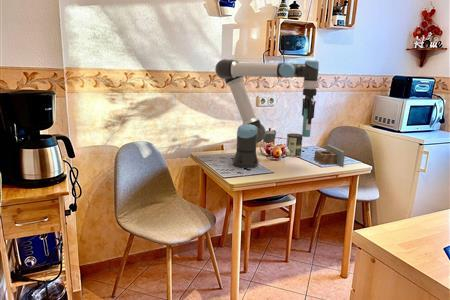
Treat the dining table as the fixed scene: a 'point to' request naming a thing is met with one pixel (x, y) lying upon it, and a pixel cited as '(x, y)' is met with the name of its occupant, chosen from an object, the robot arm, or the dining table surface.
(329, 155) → the socket block
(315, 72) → the robot arm
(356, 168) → the dining table surface
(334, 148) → the wall
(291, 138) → the coffee can
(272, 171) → the dining table surface
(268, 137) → the coffeepot
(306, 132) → the dowel
